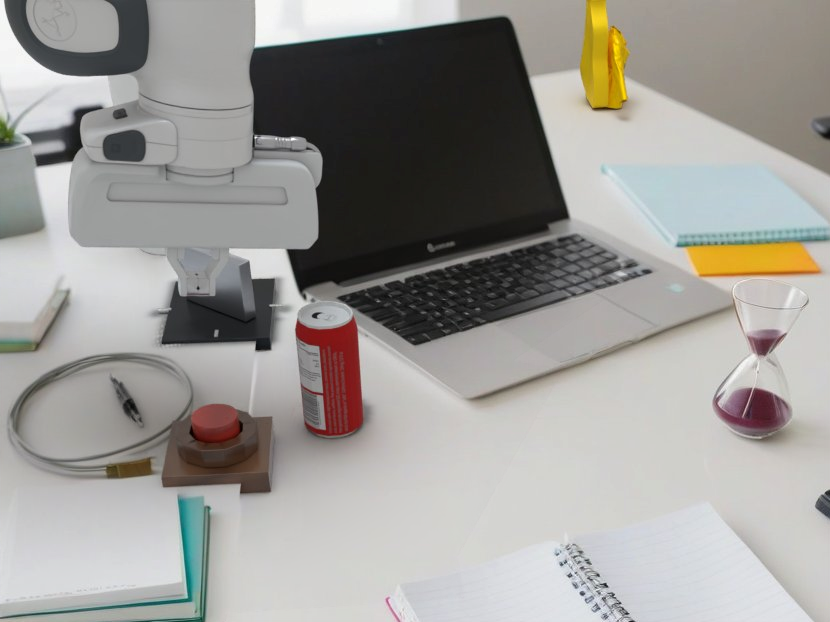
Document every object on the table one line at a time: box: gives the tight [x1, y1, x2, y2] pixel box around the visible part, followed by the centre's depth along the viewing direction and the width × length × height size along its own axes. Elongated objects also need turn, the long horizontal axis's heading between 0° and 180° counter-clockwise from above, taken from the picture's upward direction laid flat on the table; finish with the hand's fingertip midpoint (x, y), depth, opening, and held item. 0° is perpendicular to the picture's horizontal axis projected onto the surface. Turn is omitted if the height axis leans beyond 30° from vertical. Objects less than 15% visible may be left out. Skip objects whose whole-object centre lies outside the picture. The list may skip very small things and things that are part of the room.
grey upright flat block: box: [180, 248, 256, 322], centre depth 123 cm, size 9×2×7 cm, turn 56°
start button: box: [191, 403, 240, 443], centre depth 101 cm, size 4×4×2 cm
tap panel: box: [157, 278, 284, 352], centre depth 125 cm, size 14×13×2 cm
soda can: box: [294, 300, 364, 439], centre depth 106 cm, size 6×6×12 cm
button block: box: [160, 408, 276, 495], centre depth 103 cm, size 9×9×4 cm
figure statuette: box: [579, 0, 631, 110], centre depth 182 cm, size 18×8×22 cm, turn 8°
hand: (196, 293), depth 100 cm, fingers closed
